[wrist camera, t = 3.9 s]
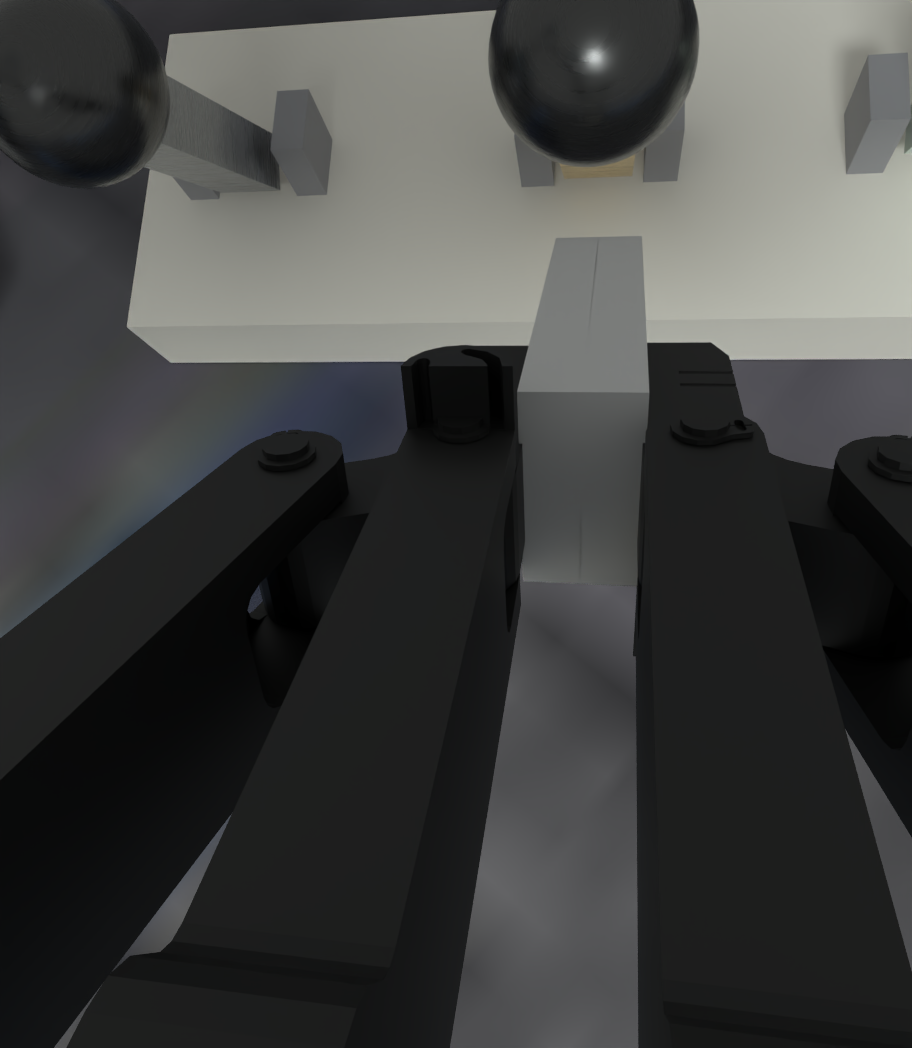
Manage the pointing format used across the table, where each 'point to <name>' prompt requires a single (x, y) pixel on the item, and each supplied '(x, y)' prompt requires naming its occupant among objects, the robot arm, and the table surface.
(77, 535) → the table surface
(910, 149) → the sage paddle
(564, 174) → the brass lever
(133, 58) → the grey lever
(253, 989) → the robot arm
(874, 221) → the panel
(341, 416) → the table surface
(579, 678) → the table surface
